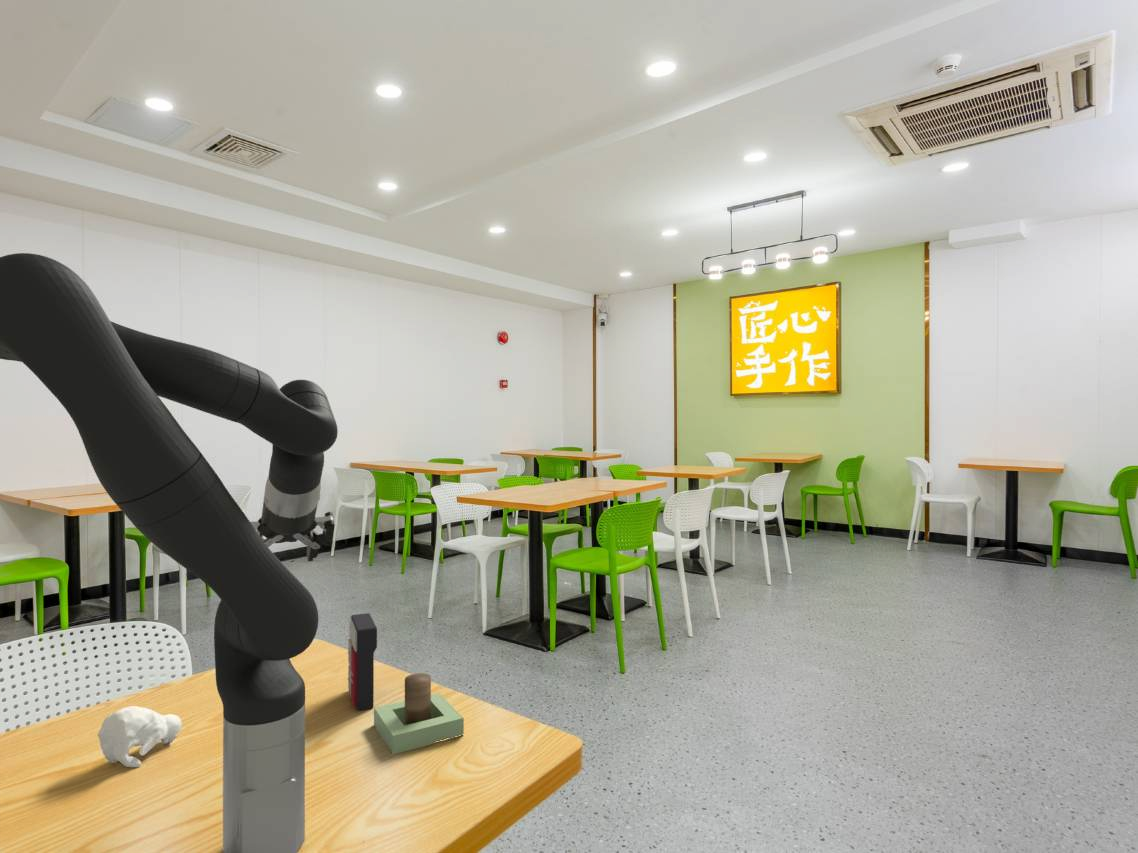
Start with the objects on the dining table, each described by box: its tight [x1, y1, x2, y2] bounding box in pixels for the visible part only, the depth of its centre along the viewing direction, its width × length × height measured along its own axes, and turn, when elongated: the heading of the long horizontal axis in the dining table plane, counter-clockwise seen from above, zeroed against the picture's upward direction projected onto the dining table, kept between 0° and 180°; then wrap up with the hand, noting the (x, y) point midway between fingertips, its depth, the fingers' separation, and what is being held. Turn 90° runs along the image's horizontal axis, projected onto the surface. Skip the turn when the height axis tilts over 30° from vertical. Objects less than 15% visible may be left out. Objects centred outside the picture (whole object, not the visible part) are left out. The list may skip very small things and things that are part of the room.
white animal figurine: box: [97, 705, 182, 768], centre depth 101 cm, size 6×8×12 cm
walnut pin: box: [404, 672, 432, 726], centre depth 109 cm, size 4×4×9 cm
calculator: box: [347, 612, 378, 711], centre depth 122 cm, size 11×4×15 cm, turn 25°
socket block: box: [373, 692, 465, 755], centre depth 109 cm, size 12×12×3 cm
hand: (281, 559), depth 104 cm, fingers open, 8 cm apart
